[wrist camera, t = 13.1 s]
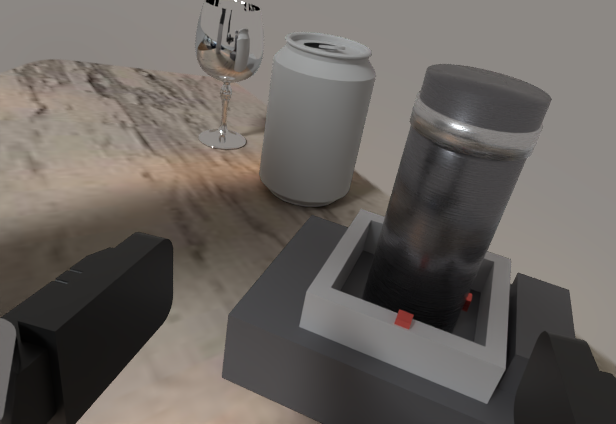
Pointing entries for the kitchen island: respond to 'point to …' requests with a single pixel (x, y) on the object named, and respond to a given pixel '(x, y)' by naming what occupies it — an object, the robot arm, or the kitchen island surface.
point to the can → (315, 117)
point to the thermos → (452, 189)
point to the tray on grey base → (383, 337)
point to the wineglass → (228, 56)
